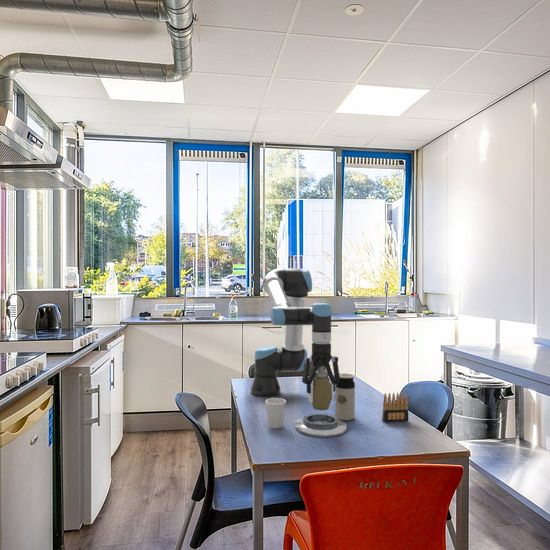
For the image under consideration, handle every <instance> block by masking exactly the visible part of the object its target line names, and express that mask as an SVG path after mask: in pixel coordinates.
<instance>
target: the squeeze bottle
mask: <svg viewBox="0 0 550 550" xmlns="http://www.w3.org/2000/svg"><path fill="white" fill-rule="evenodd" d="M325 371H326V370H325V367H324V366H321V367H319V368H318V369H317V371H316V374H315V376H316V377H314V379H313V381H312V385H313V402H311V404H312V407H313V409H314V410H316V411H328V410H329V408H330V406H331V403H332V401H331V392H330V383H331V381H330V378H329V376H328V377H327V372H325Z"/></svg>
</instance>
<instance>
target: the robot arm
mask: <svg viewBox="0 0 550 550" xmlns="http://www.w3.org/2000/svg"><path fill="white" fill-rule="evenodd" d="M262 287H263V290H264V292H265V293H266V294H267V296H268V298H269V301H270V303H271V307H272V308H271V309H270V322H271V324H272V325H274V326H285V337H284V338H285V339H284V342H283V343H282V344H281V348H278V346H276V345H268V346H267V345H266V346H261V347H258V348H257V349H255V351H254V378H253V380H252V381H253V382H252V385H251V387H250V393H251V394H252V395H254V396H257V395H259V396H258V397H274V396H278V395H280V394H281V385H280V383H279V380H278V372H279V373H281V372H282V373H287V372H288V373H289V372H291V373H292V372H293V373H294V372H295V373H297V372H302V379H301V383H303V384H304V385H306V393H307V394H308V402H310V403H312V402H313V385H312V384H313V379H314V376H315V374H316V371H318V369H319V367H321V366H324V369H325V371H327V373H328V378H329V381H330V392H331V402H333V401H334V392H336V384H337V382H339V381H340V376H339V374H340V370H339V364H338V362H339V357H338V356H336V355H333V356H332V354H331V353H332V343H331V342H332V313H333V312H332V305H331V304H330V303H326V302H316V303H313V304H312V305H310V306H305V300H306V298H308V295H309V293H310V292H312V290H313V281H312V275H311V272H310V270H309V269H307V268H297V267H295V268H294V267H293V268H288V267H287V268H280V267H279V268H274V269H272V270H270V271H269V272H268V273H267V274H266V275H265V276H264V278H263V281H262ZM304 326H311V328H312V329H311V341H312V343H311V356H309V357H308V350H307V349H306V348H305V345H304V344H303V342H302V341H303V329H304V328H303V327H304ZM331 361H332V362H331ZM311 362H312V365H311ZM330 362H331V363H332V367H331V365H330ZM310 368H311V369H310ZM332 369H333V370H332ZM308 374H309V375H308Z"/></svg>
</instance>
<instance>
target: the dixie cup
mask: <svg viewBox="0 0 550 550" xmlns="http://www.w3.org/2000/svg"><path fill="white" fill-rule="evenodd" d="M286 403H287V400H286V399H284V398H282V397H270V398H266V400H265V408H266V415H267V423H268V424H267V425H268V427H269V428H270V427H271V428H270V429H281V428H283V426H284V419H285V411H286Z"/></svg>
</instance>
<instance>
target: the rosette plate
mask: <svg viewBox="0 0 550 550" xmlns="http://www.w3.org/2000/svg"><path fill="white" fill-rule="evenodd" d="M335 416H336V415H335ZM335 416H334V415H332V414H326V413H312V414H308V415H305V416H304V417H302V418H298V419H297V420H296V421H295V422H294V423H295V424H294V425H295V430H296V431H297V432H298V433H300V434H302V435H305V436H308V437H316V438H332V436H335V437H339V436H341V434H342V435H344V434H345V433H346V432H347V424H346V423H345V422H344V420H340V419H337V418H336V417H335ZM343 433H344V434H343ZM338 435H339V436H338Z"/></svg>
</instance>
